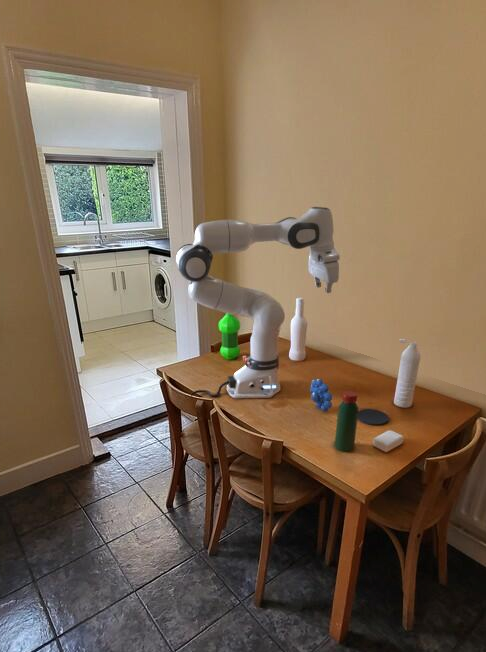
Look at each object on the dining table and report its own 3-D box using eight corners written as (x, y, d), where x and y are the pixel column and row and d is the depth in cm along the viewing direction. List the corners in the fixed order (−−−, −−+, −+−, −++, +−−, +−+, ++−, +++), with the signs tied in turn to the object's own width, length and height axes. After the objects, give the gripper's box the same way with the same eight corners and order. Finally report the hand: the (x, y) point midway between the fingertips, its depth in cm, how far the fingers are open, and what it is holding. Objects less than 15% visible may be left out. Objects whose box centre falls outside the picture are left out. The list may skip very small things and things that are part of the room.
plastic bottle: (219, 354, 208) (217, 306, 198) (239, 353, 209) (238, 305, 199) (220, 361, 199) (218, 311, 189) (241, 360, 200) (241, 310, 190)
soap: (388, 436, 137) (389, 428, 136) (403, 443, 133) (404, 435, 132) (371, 445, 132) (372, 437, 131) (386, 453, 128) (387, 445, 127)
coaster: (365, 427, 143) (365, 425, 142) (351, 412, 152) (351, 410, 152) (394, 423, 145) (394, 421, 144) (378, 408, 154) (378, 407, 154)
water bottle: (415, 405, 157) (426, 343, 146) (403, 409, 154) (415, 346, 143) (396, 396, 163) (406, 336, 153) (385, 400, 160) (394, 339, 150)
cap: (346, 404, 123) (346, 397, 122) (340, 398, 126) (341, 391, 125) (358, 402, 123) (359, 395, 122) (352, 396, 127) (353, 390, 126)
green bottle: (339, 452, 129) (345, 400, 121) (331, 442, 134) (336, 391, 126) (357, 450, 130) (363, 398, 122) (348, 440, 135) (354, 389, 127)
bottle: (306, 361, 198) (310, 300, 186) (289, 361, 199) (292, 300, 186) (304, 355, 206) (307, 296, 193) (288, 355, 206) (290, 296, 193)
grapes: (301, 405, 157) (302, 377, 152) (314, 401, 160) (316, 373, 155) (321, 418, 148) (323, 388, 143) (335, 414, 151) (338, 384, 146)
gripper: (303, 250, 161) (305, 285, 167) (325, 259, 143) (326, 297, 150) (318, 247, 162) (320, 282, 168) (341, 255, 144) (342, 294, 150)
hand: (323, 289), depth 159 cm, fingers open, 8 cm apart
